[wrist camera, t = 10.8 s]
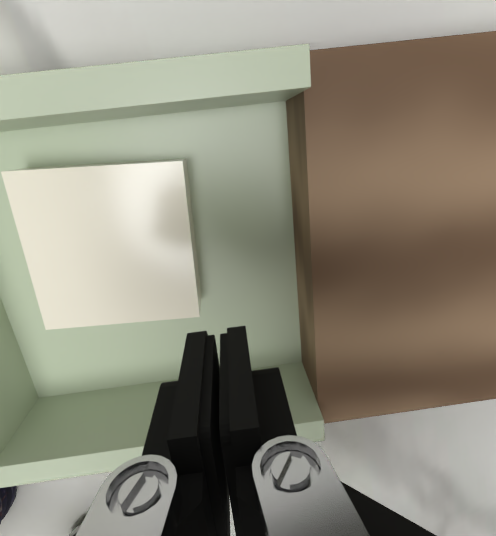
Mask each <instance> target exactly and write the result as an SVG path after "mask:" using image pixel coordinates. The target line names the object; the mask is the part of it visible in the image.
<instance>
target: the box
mask: <svg viewBox="0 0 496 536" xmlns="http://www.w3.org/2000/svg"><path fill="white" fill-rule="evenodd" d="M310 87H311V74H310V48H309V44H301V45H291V46H282V47H272V48H262V49H252V50H243V51H233V52H223V53H213V54H204V55H194V56H184V57H174V58H165V59H155V60H145V61H135V62H126V63H116V64H106V65H96V66H87V67H77V68H67V69H57V70H48V71H38V72H28V73H18V74H9V75H0V488H4V487H11V486H18V485H25V484H31V483H38V482H45V481H52V480H59V479H65V478H72V477H79V476H86V475H93V474H99V473H106V472H113V471H114V470H115V469H116V468H117V467H119V466H120V465H122V464H124V463H125V462H127V461H128V460H131V459H134V458H136V457H139V456H142V452H143V449H144V445H145V441H146V437H147V433H148V430H149V426H150V422H151V418H152V414H153V411H154V407H155V403H156V399H157V395H158V392H159V388H160V385H161V383H163V382H171V381H178V378H179V373H180V368H181V362H182V357H183V352H184V347H185V341H186V336H187V333H192V332H199V331H207V334H208V335H215V340H216V346H217V353H218V359H219V366H220V334H223V333H227V328H230V327H238V326H246V333H247V341H248V348H249V355H250V363H251V370H252V371H253V370H261V369H268V368H275V367H279V370H280V373H281V377H282V381H283V385H284V388H285V392H286V396H287V400H288V404H289V407H290V411H291V415H292V419H293V422H294V426H295V430H296V434H297V436H301V437H304V438H306V439H309V440H311V441H313V442H317V441H324V440H325V437H324V419H323V417H322V414H321V411H320V409H319V406H318V403H317V401H316V398H315V395H314V393H313V390H312V387H311V385H310V382H309V380H308V377H307V374H306V372H305V369H304V366H303V364H302V357H301V341H300V325H299V308H298V292H297V276H296V259H295V243H294V227H293V211H292V194H291V178H290V162H289V146H288V129H287V113H286V101H287V100H288V99H290V98H292V97H294V96H296V95H297V94H299V93H301V92H303V91H305V90H306V89H308V88H310ZM183 158H187V167H188V177H189V186H190V195H191V205H192V214H193V223H194V233H195V242H196V251H197V261H198V270H199V279H200V289H201V298H202V300H201V310H200V317H193V318H182V319H170V320H158V321H146V322H134V323H122V324H110V325H98V326H86V327H75V328H63V329H51V330H46V329H45V326H44V322H43V319H42V315H41V312H40V308H39V305H38V301H37V298H36V294H35V291H34V287H33V284H32V280H31V276H30V273H29V269H28V266H27V262H26V259H25V255H24V252H23V248H22V245H21V241H20V238H19V234H18V231H17V227H16V224H15V220H14V217H13V213H12V209H11V206H10V202H9V199H8V195H7V192H6V188H5V185H4V181H3V178H2V174H1V171H8V170H14V169H21V168H29V167H46V166H63V165H81V164H98V163H115V162H132V161H149V160H166V159H183Z"/></svg>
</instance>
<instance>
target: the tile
mask: <svg viewBox="0 0 496 536" xmlns="http://www.w3.org/2000/svg"><path fill="white" fill-rule="evenodd" d="M1 174H2V178H3V181H4V185H5V188H6V192H7V195H8V199H9V202H10V206H11V209H12V213H13V217H14V220H15V224H16V227H17V231H18V234H19V238H20V241H21V245H22V248H23V252H24V255H25V259H26V262H27V266H28V269H29V273H30V276H31V280H32V284H33V287H34V291H35V294H36V298H37V301H38V305H39V308H40V312H41V315H42V319H43V322H44V326H45V329H46V330H51V329H63V328H75V327H86V326H98V325H110V324H122V323H134V322H146V321H158V320H170V319H182V318H193V317H200V310H201V300H202V298H201V289H200V279H199V270H198V261H197V251H196V242H195V233H194V223H193V214H192V205H191V195H190V186H189V177H188V167H187V158H183V159H166V160H149V161H132V162H115V163H98V164H81V165H63V166H46V167H29V168H21V169H14V170H8V171H1Z"/></svg>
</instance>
